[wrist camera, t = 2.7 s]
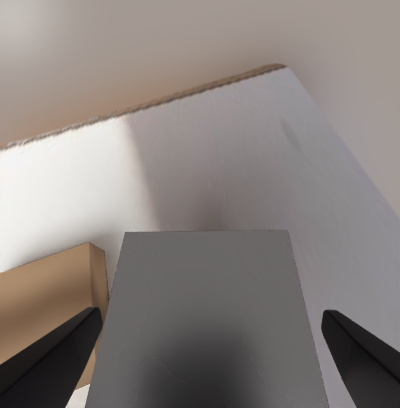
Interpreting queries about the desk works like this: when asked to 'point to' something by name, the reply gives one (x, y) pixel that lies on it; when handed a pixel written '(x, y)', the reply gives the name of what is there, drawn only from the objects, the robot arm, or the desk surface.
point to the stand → (51, 298)
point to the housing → (207, 325)
